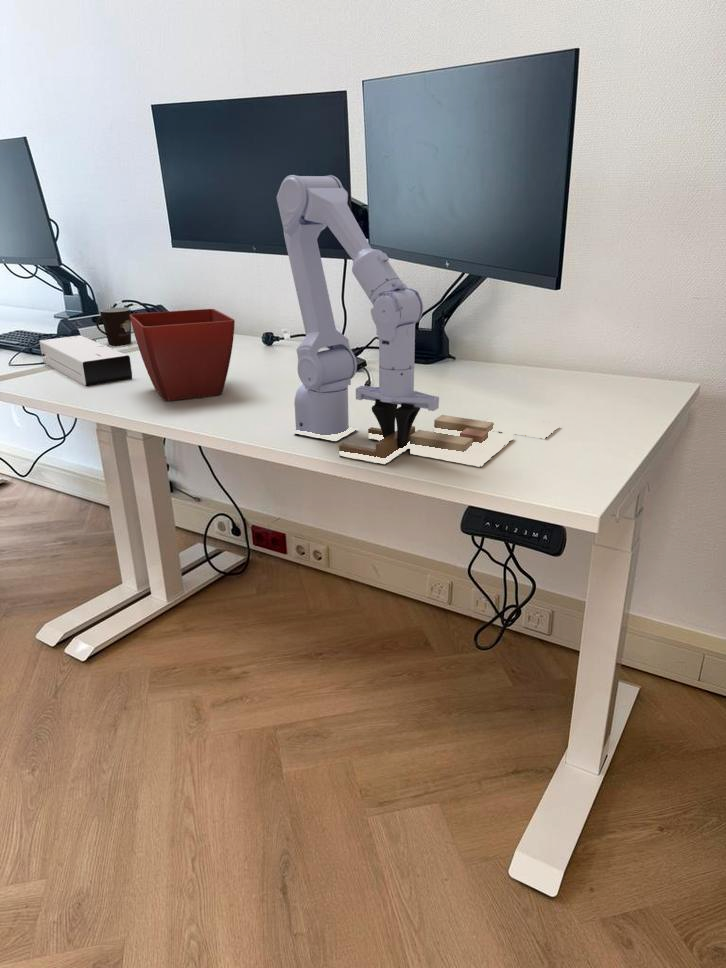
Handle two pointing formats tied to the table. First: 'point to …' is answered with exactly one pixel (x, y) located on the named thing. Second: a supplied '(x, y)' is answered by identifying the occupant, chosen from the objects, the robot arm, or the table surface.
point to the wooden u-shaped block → (469, 434)
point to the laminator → (85, 360)
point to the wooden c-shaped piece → (377, 444)
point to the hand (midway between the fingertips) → (395, 445)
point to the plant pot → (185, 351)
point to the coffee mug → (116, 325)
